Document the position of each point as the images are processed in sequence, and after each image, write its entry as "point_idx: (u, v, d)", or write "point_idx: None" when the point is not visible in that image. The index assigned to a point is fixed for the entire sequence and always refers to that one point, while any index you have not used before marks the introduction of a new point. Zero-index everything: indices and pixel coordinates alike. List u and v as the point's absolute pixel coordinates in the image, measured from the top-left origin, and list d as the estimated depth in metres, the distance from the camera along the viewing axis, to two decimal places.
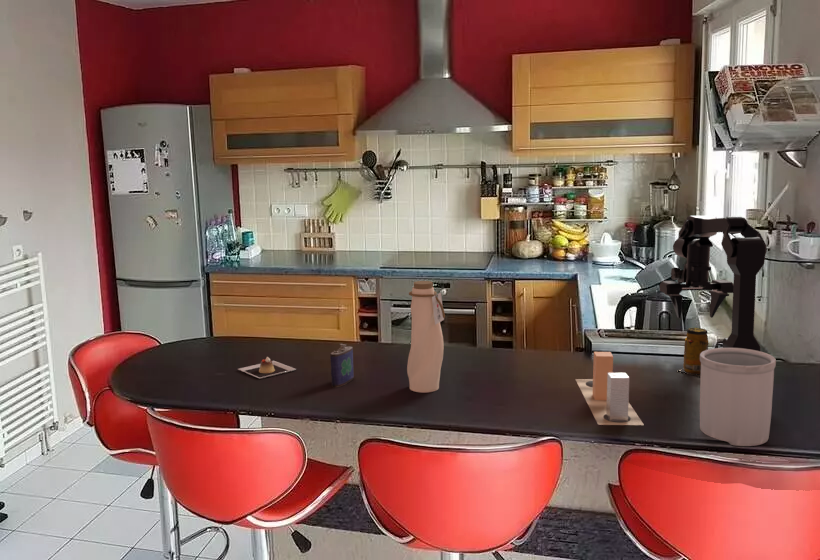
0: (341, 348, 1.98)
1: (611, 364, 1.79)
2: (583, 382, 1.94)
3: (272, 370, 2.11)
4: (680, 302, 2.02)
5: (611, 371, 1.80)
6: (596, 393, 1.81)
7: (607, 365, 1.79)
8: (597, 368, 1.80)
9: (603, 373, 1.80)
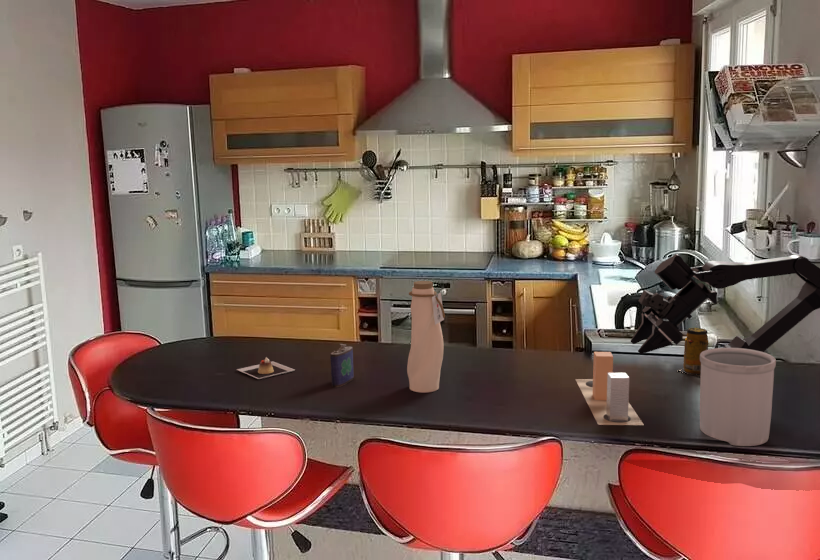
0: (341, 348, 1.98)
1: (611, 364, 1.79)
2: (583, 382, 1.94)
3: (271, 371, 2.10)
4: None
5: (611, 371, 1.80)
6: (596, 393, 1.81)
7: (607, 365, 1.79)
8: (597, 368, 1.80)
9: (603, 373, 1.80)
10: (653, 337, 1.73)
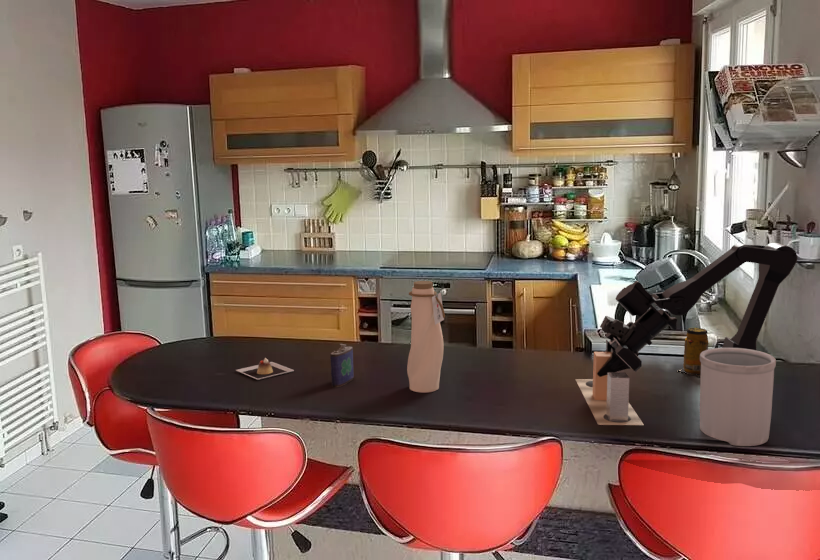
0: (341, 348, 1.98)
1: None
2: (583, 382, 1.94)
3: (270, 371, 2.10)
4: None
5: None
6: (596, 393, 1.81)
7: None
8: (597, 368, 1.80)
9: None
10: (611, 360, 1.77)
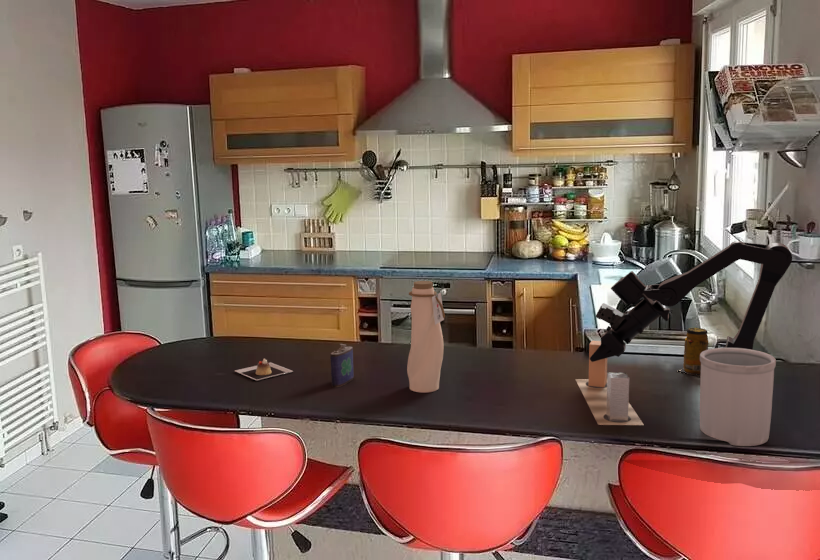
0: (341, 348, 1.98)
1: None
2: (583, 382, 1.94)
3: (269, 372, 2.09)
4: None
5: (603, 359, 1.89)
6: (589, 379, 1.92)
7: None
8: (590, 356, 1.90)
9: None
10: (601, 347, 1.86)
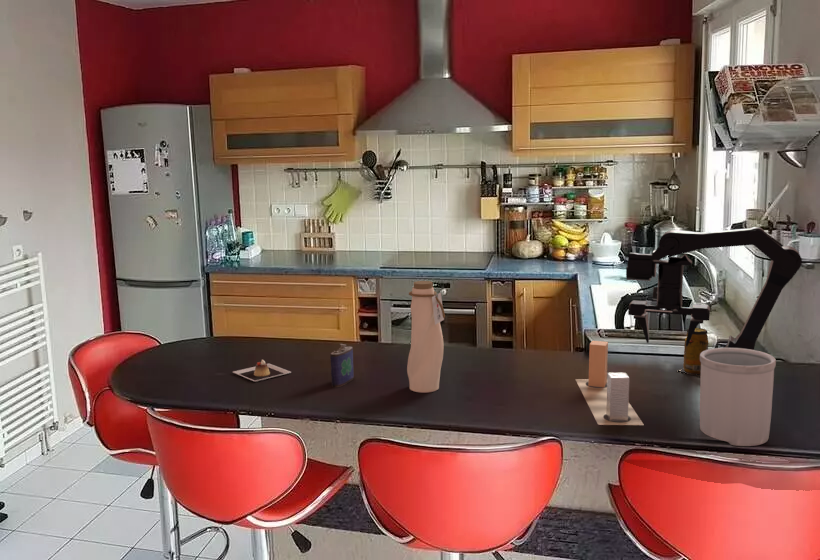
0: (341, 348, 1.98)
1: (604, 353, 1.89)
2: (583, 382, 1.94)
3: (267, 373, 2.08)
4: (644, 325, 1.84)
5: (604, 359, 1.89)
6: (589, 379, 1.92)
7: (600, 354, 1.89)
8: (590, 356, 1.90)
9: (596, 360, 1.90)
10: None
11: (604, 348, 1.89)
